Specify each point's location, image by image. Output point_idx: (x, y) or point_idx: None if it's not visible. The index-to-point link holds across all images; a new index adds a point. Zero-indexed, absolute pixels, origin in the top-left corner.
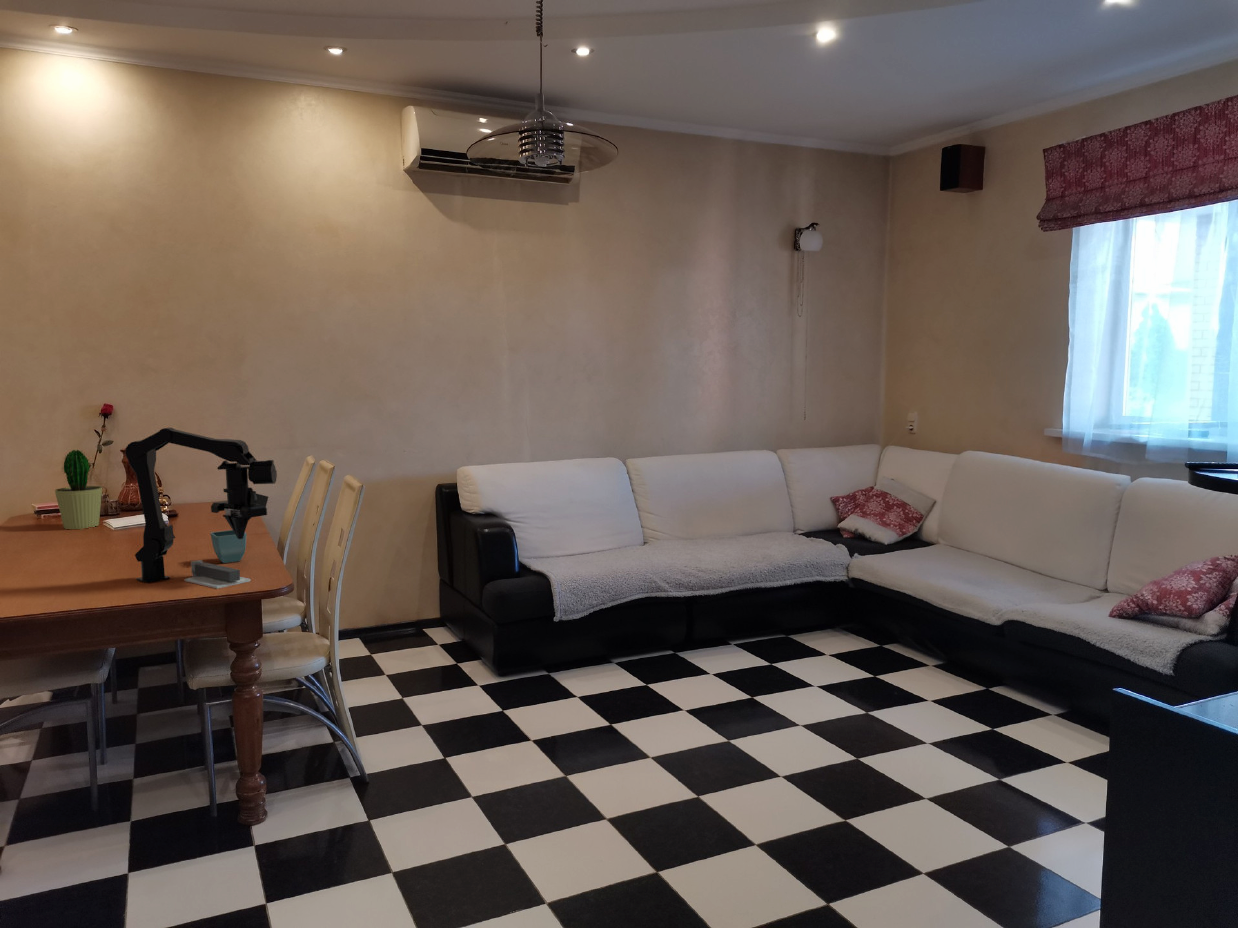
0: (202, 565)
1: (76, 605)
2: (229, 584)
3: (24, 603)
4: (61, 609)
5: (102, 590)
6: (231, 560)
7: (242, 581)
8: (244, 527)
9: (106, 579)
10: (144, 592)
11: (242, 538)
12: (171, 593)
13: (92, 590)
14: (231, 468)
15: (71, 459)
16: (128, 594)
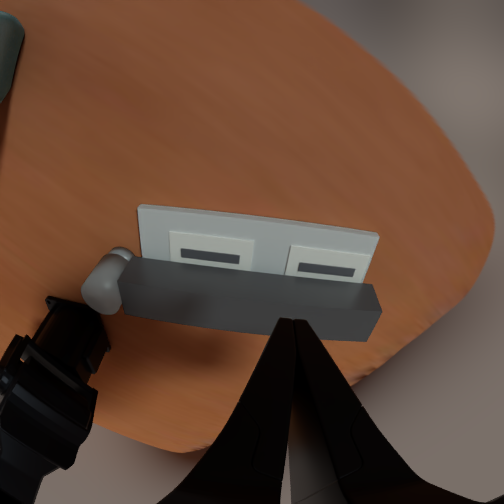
0: (165, 316)
1: (190, 435)
2: None
3: (123, 431)
4: (196, 443)
5: (113, 391)
6: (13, 64)
7: (367, 265)
8: (355, 417)
9: None
10: (194, 391)
11: (306, 321)
12: None
13: (101, 391)
14: None
15: None
16: (184, 401)
